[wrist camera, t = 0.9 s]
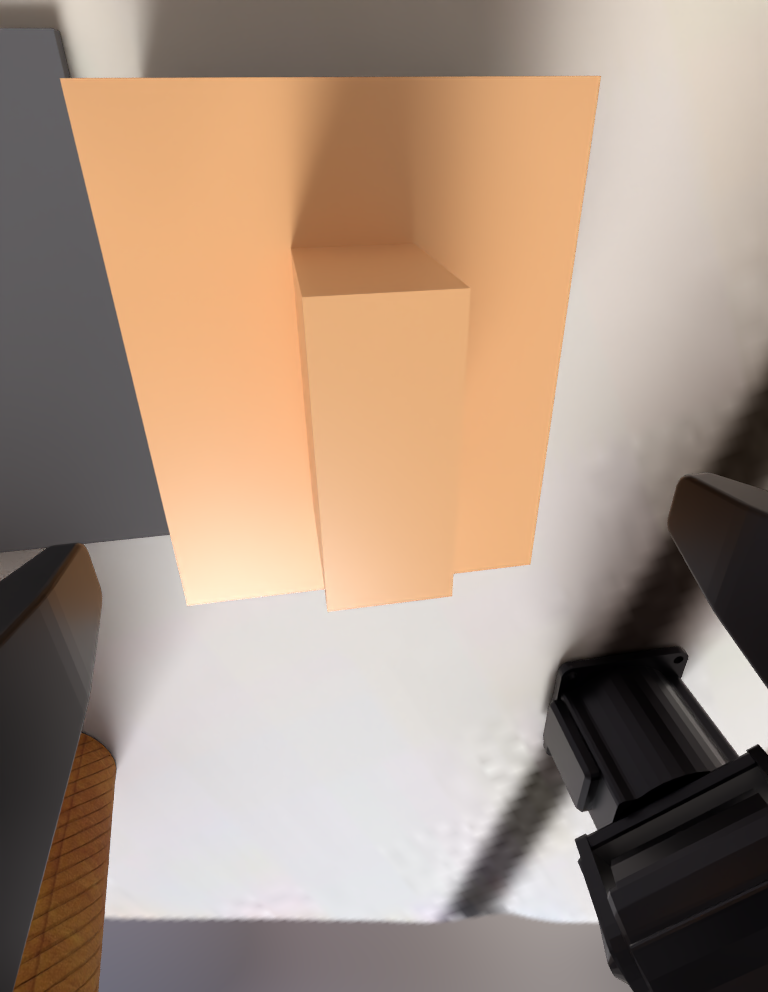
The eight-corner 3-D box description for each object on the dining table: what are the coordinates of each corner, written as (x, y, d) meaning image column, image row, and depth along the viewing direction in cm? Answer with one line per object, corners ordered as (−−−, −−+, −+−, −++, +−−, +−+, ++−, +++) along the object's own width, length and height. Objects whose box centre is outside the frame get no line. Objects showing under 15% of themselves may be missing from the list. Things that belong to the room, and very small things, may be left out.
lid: (565, 80, 13) (742, 56, 8) (510, 533, 19) (594, 669, 14) (83, 83, 11) (-42, 55, 7) (193, 568, 18) (167, 732, 13)
